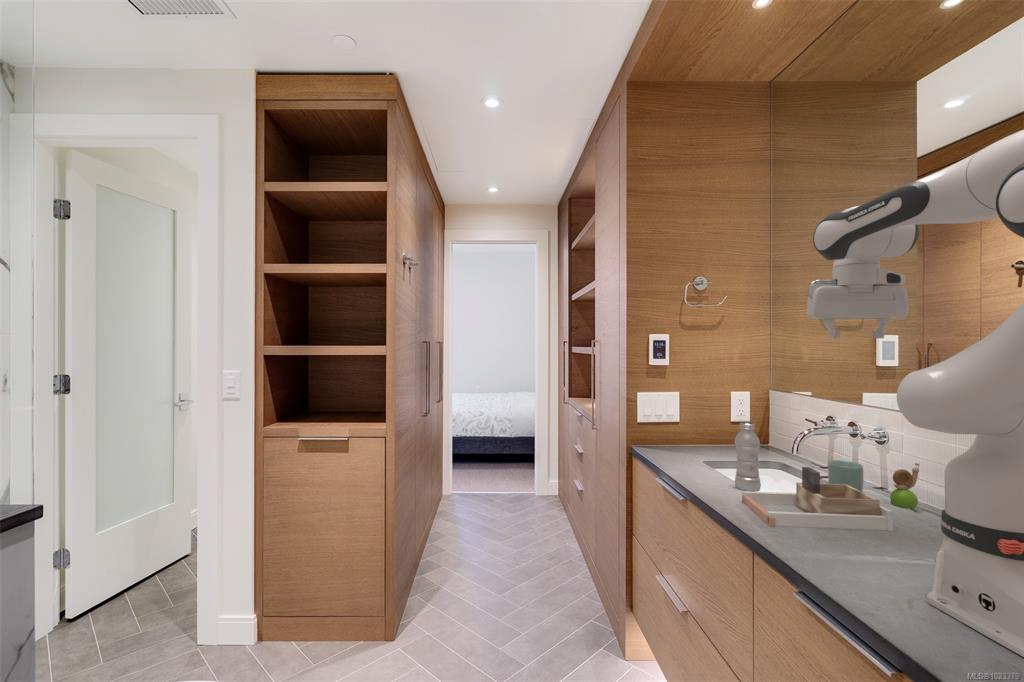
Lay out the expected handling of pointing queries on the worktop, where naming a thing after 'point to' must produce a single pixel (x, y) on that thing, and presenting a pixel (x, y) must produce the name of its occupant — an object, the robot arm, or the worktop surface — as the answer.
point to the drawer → (832, 497)
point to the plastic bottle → (747, 458)
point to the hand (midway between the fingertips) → (856, 338)
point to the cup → (846, 473)
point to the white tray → (812, 514)
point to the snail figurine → (905, 488)
